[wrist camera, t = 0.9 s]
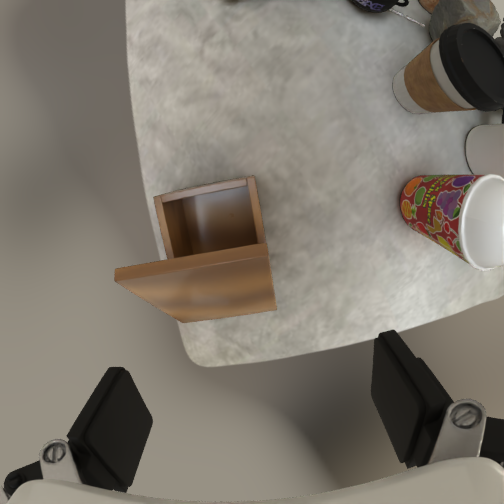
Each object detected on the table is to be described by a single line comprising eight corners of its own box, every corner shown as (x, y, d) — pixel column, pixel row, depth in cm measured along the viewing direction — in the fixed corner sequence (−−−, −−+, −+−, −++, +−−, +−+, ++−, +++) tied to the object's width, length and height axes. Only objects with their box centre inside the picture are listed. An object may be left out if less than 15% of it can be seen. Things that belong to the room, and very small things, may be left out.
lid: (114, 268, 16) (113, 281, 15) (266, 241, 15) (269, 255, 15) (181, 315, 27) (182, 323, 26) (275, 301, 26) (277, 310, 26)
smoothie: (411, 154, 30) (542, 156, 11) (452, 195, 31) (573, 227, 12) (377, 210, 32) (498, 261, 13) (422, 248, 33) (533, 315, 14)
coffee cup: (399, 130, 29) (483, 115, 15) (371, 66, 27) (438, 16, 13) (447, 116, 28) (530, 103, 14) (422, 57, 26) (494, 19, 12)
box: (175, 190, 32) (153, 197, 24) (254, 175, 31) (254, 176, 24) (197, 286, 35) (183, 317, 27) (271, 274, 34) (276, 303, 27)
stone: (474, 49, 24) (471, 86, 25) (425, 24, 26) (418, 58, 27) (505, 3, 12) (511, 40, 13) (445, -31, 14) (443, 0, 15)
